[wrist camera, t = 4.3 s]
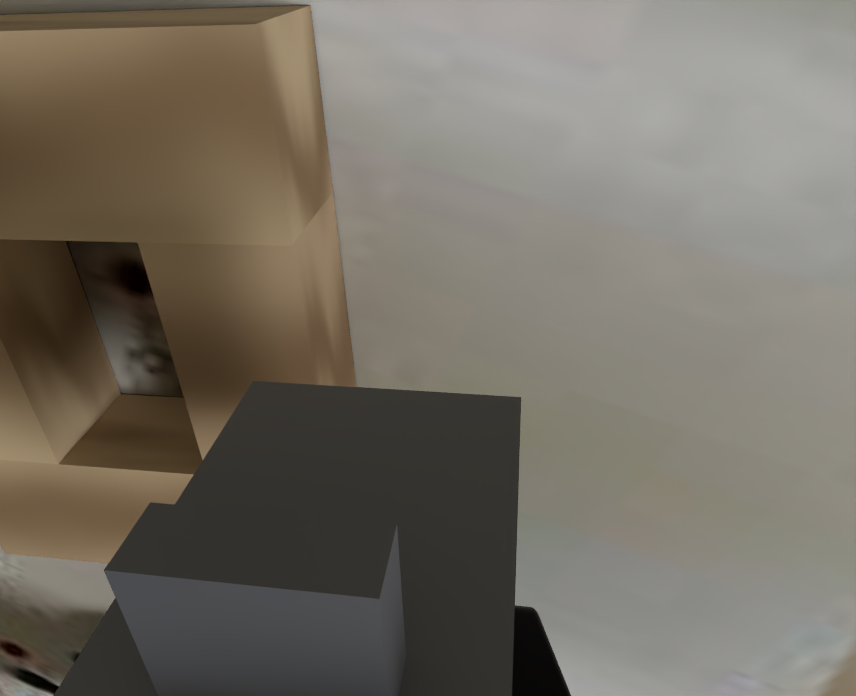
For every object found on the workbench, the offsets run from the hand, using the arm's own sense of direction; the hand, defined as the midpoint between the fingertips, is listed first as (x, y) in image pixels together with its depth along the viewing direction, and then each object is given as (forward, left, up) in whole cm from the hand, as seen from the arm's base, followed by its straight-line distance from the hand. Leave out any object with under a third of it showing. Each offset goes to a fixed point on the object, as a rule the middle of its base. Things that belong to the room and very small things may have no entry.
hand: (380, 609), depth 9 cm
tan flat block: (-1, +9, -11) cm, 14 cm away
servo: (0, 0, -1) cm, 1 cm away
